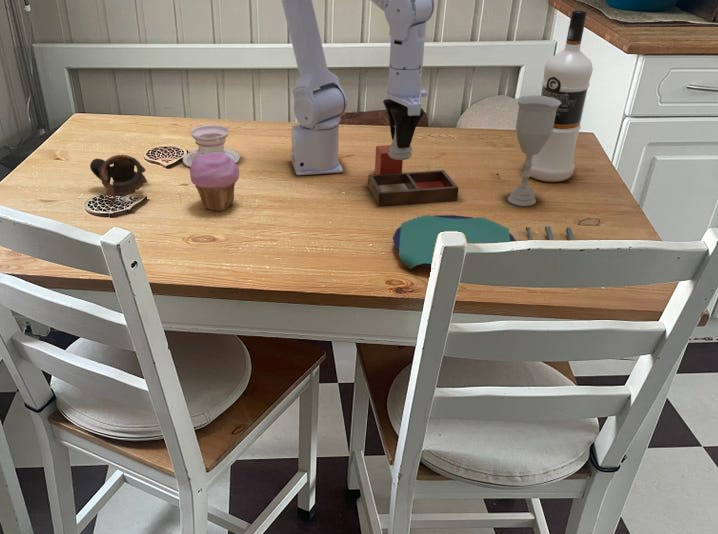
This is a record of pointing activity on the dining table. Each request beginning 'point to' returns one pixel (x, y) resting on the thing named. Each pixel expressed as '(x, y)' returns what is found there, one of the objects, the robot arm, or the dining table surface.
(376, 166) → the brick-red block
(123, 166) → the pottery mug
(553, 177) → the vodka
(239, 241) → the dining table surface
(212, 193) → the cupcake
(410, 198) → the tray
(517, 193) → the chalice
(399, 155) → the rook chess piece
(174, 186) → the dining table surface
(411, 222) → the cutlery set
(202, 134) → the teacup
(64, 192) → the dining table surface
